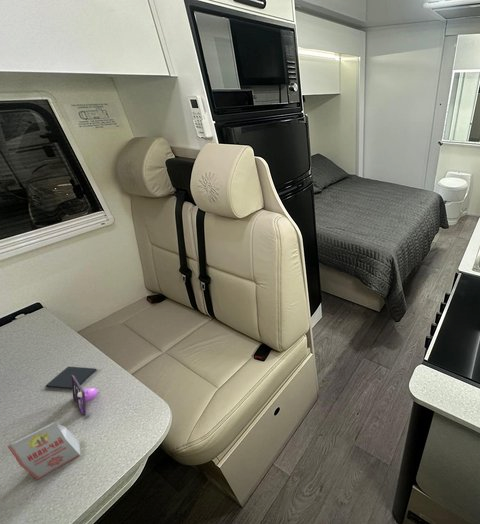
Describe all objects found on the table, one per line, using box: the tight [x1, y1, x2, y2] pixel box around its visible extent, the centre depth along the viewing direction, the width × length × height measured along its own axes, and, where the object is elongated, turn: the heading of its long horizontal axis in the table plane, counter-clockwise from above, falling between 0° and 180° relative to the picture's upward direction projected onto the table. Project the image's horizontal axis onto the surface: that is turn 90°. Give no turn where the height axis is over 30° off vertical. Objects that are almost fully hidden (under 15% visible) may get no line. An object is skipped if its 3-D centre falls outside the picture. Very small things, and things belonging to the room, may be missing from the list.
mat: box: [45, 366, 98, 390], centre depth 79 cm, size 9×6×1 cm
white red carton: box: [7, 421, 81, 481], centre depth 58 cm, size 4×7×10 cm, turn 133°
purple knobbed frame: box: [71, 375, 100, 417], centre depth 72 cm, size 7×5×9 cm
